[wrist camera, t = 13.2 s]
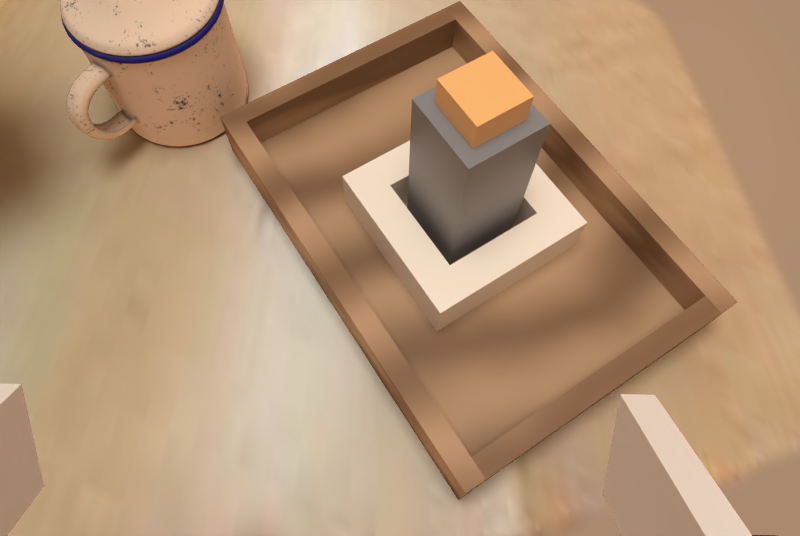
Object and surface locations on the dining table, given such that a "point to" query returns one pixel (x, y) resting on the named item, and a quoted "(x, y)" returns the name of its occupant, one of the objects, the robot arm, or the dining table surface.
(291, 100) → the brown wooden tray
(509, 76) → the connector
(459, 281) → the socket
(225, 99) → the teacup with lid
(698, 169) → the dining table surface
